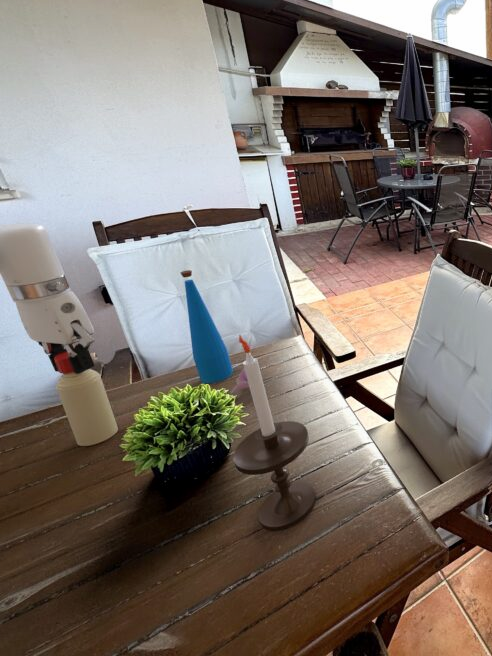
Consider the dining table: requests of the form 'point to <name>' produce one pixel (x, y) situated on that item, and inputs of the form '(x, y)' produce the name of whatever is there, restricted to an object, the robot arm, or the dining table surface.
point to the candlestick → (274, 457)
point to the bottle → (205, 338)
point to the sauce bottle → (87, 407)
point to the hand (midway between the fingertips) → (75, 368)
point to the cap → (63, 363)
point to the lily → (241, 381)
